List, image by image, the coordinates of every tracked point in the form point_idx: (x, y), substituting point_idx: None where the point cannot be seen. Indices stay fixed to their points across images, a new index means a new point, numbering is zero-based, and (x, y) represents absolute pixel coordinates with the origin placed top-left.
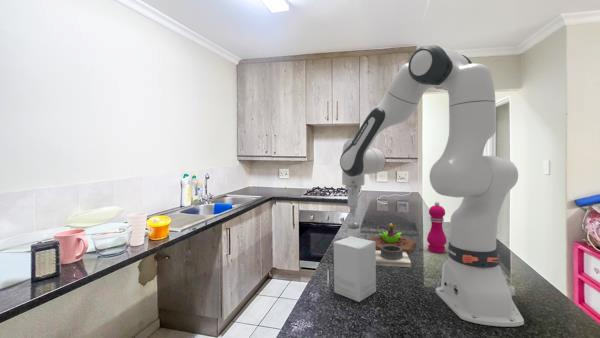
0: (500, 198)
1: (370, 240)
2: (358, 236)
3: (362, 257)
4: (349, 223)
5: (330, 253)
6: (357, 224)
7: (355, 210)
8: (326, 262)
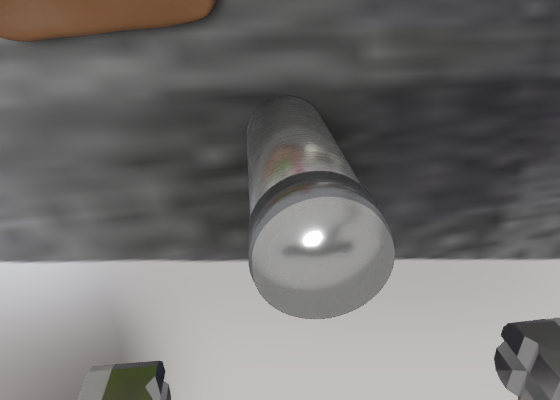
0: None
1: (53, 7)
2: (326, 142)
3: None
4: (365, 298)
5: None
6: (377, 211)
7: (116, 376)
8: (483, 253)
